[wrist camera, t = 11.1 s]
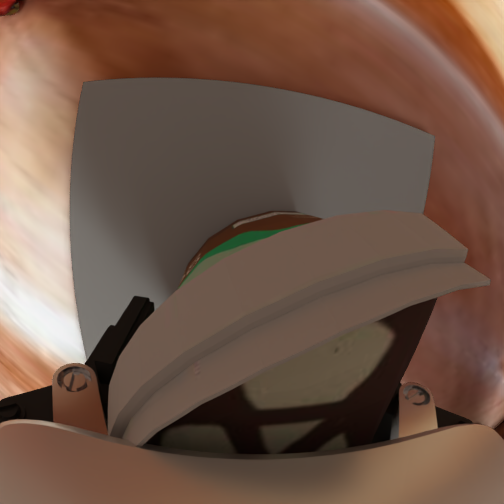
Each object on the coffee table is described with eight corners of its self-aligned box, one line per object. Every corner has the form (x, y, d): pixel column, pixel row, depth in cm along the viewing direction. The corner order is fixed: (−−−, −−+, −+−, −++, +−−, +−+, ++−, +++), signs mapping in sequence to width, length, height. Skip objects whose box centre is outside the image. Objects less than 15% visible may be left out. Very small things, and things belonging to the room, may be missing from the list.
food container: (160, 163, 11) (-10, 190, 2) (301, 178, 12) (502, 244, 3) (159, 386, 15) (144, 542, 5) (262, 391, 16) (300, 540, 6)
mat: (428, 136, 12) (435, 136, 12) (342, 416, 18) (344, 422, 18) (88, 84, 10) (83, 82, 10) (101, 398, 16) (99, 403, 16)
